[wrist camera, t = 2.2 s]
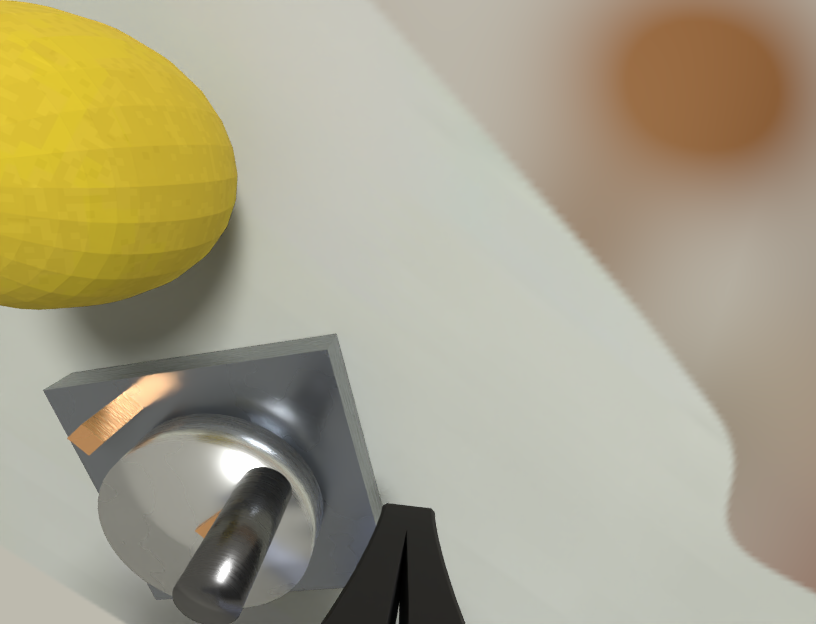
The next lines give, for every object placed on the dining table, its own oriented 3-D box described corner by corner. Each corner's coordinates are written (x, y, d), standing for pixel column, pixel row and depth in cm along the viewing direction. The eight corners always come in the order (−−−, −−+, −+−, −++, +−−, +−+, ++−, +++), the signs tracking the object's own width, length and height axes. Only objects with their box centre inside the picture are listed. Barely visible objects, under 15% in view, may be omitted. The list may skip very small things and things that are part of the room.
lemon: (278, 268, 14) (78, 410, 6) (107, 240, 14) (-294, 347, 6) (286, 72, 12) (6, -69, 4) (87, 40, 12) (-535, -152, 4)
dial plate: (395, 556, 18) (386, 633, 15) (173, 573, 19) (126, 646, 16) (336, 333, 14) (310, 378, 11) (71, 372, 16) (-10, 421, 13)
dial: (344, 563, 16) (303, 733, 11) (172, 575, 17) (70, 737, 12) (292, 401, 14) (213, 531, 9) (97, 426, 15) (-67, 556, 10)
